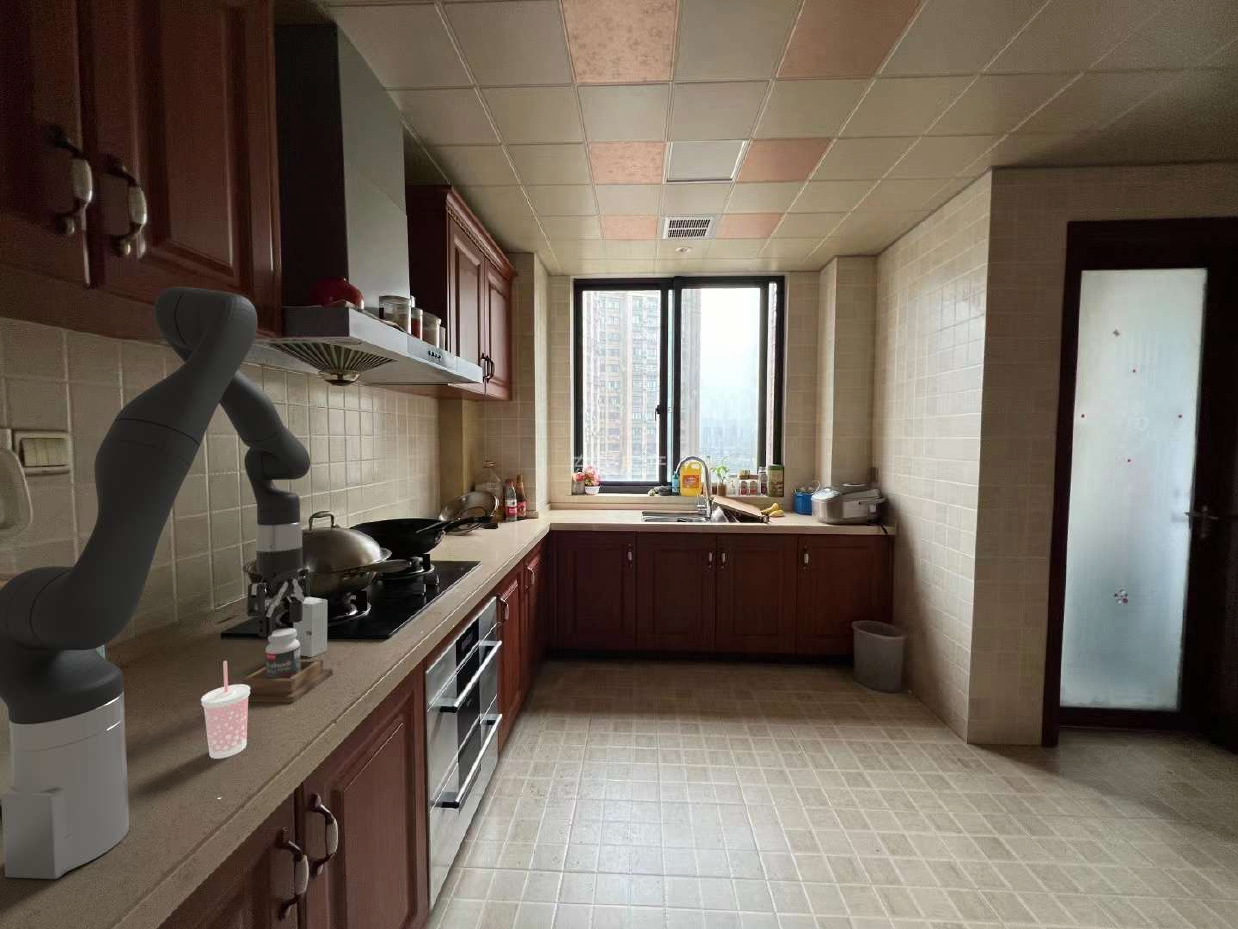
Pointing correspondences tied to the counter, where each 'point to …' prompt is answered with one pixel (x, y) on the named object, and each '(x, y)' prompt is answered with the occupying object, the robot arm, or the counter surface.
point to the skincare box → (312, 627)
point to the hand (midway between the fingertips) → (281, 628)
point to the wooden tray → (286, 683)
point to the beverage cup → (226, 718)
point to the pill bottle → (283, 654)
